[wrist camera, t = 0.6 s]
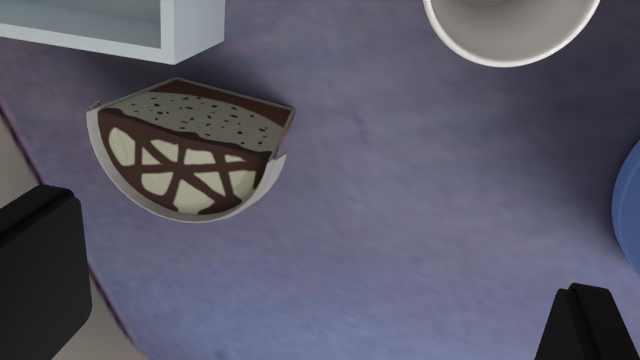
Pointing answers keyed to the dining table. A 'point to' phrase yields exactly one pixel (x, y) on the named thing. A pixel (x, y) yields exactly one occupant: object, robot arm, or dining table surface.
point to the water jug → (628, 208)
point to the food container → (190, 148)
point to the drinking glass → (508, 27)
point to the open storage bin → (119, 26)
